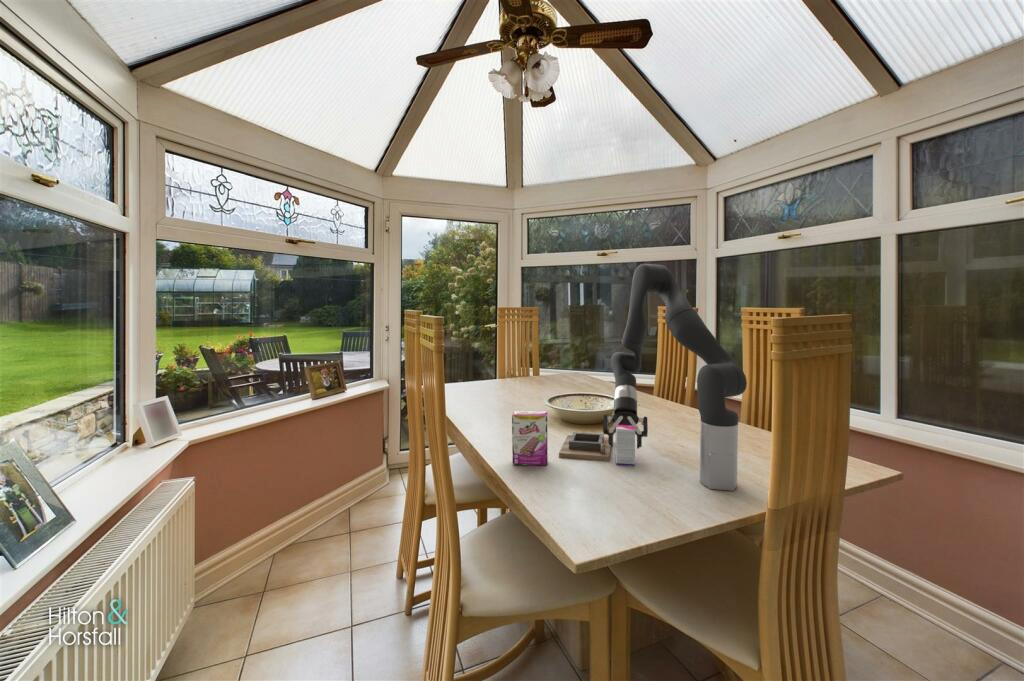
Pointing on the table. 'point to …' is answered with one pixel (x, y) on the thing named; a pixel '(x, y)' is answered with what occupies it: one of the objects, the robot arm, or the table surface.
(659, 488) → the table surface
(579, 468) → the table surface
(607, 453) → the nest plate
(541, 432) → the candy bar box
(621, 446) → the supplement box
